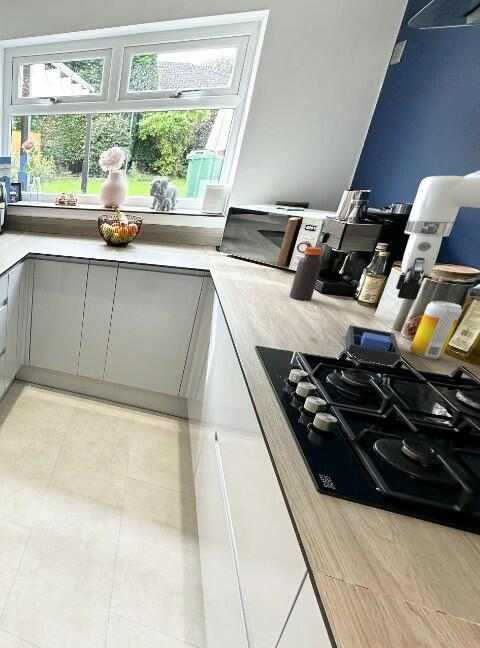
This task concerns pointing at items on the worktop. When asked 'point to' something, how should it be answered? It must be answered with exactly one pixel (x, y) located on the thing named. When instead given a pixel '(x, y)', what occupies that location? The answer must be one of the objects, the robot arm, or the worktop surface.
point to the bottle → (307, 274)
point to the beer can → (435, 329)
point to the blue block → (375, 341)
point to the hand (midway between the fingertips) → (405, 294)
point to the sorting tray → (368, 353)
